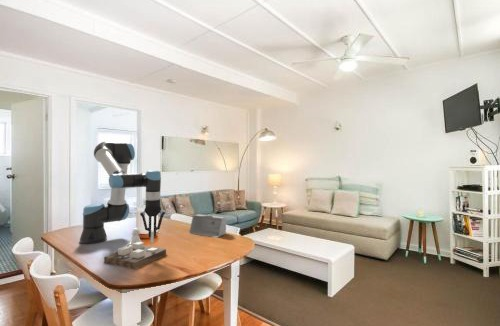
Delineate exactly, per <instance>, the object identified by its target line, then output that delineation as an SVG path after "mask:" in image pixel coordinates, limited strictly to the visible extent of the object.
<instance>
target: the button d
mask: <svg viewBox="0 0 500 326" xmlns="http://www.w3.org/2000/svg"><path fill="white" fill-rule="evenodd" d="M158 248H159V247H156V248H150V249H147V252H152V253H153V252H155V251H158Z"/></svg>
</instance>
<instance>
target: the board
mask: <svg viewBox="0 0 500 326" xmlns="http://www.w3.org/2000/svg"><path fill="white" fill-rule="evenodd" d="M150 248H158V251H155V252H153V253H152V252H147V249H150ZM140 250H144V256H143V257H141V258H139V259H138V258H133V257H132V251H135V249H133V247H130V253H129V254H127V255H123V256H122V255H118V251H117V252H114V253H110V254H108V255H105V256H104V257H103V261H104V262H103V263H104V264H110V265H114V266H119V267H123V268H127V269H133V270H134V269H137V268H139V267H142V266H144V265H146V264H148V263H151V262H153V261H155V260H158V259H159V258H162V257H163V256H164V257H165V256H166V255H167V249H166V248H161V247H157V246H156V247H155V246H149V245H144V248H143V249H140Z"/></svg>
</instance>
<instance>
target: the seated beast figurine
mask: <svg viewBox="0 0 500 326" xmlns="http://www.w3.org/2000/svg"><path fill="white" fill-rule="evenodd" d="M140 232H141V230H140V228H139V227H134V229H133V230H132V232H131V235H132V237H131V241H130V242H129V243H127V244H126V247H129V248H130V247H133V243H136V242H143V241H142V240H141V239H140V235H139V234H140Z"/></svg>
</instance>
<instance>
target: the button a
mask: <svg viewBox="0 0 500 326" xmlns="http://www.w3.org/2000/svg"><path fill="white" fill-rule="evenodd" d="M117 252H118V255H122V256H123V255H127V254H129V253H130V248H129V247H127V246H122V247H119V248H117Z"/></svg>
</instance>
